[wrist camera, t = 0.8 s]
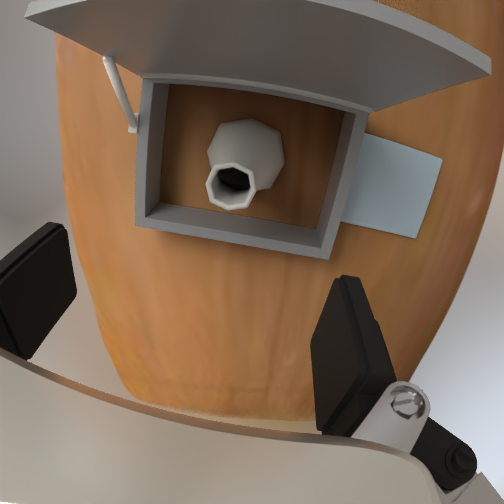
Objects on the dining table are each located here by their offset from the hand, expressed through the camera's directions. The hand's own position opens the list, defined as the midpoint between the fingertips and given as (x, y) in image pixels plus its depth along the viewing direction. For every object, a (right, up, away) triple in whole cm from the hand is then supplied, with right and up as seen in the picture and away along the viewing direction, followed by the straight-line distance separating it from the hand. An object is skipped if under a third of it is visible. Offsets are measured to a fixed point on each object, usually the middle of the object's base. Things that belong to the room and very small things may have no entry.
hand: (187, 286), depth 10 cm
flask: (+2, +10, +18) cm, 20 cm away
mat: (+16, +7, +18) cm, 25 cm away
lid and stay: (+2, +14, +12) cm, 18 cm away
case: (+2, +10, +17) cm, 20 cm away
